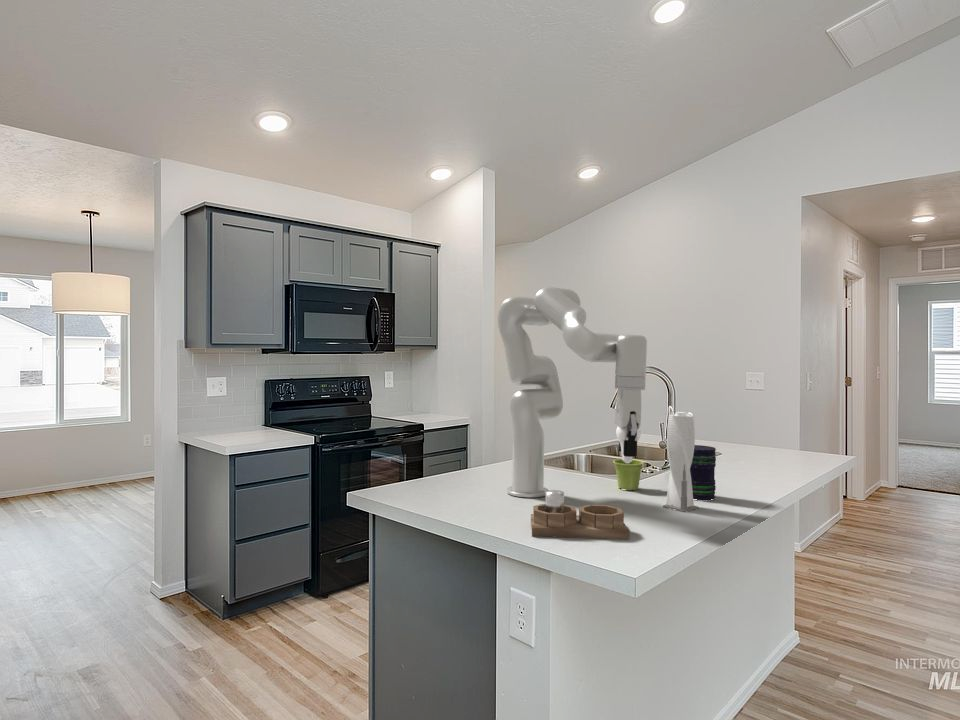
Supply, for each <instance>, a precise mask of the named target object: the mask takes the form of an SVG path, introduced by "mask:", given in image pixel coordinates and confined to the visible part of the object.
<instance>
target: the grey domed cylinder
mask: <svg viewBox="0 0 960 720" xmlns="http://www.w3.org/2000/svg"><path fill="white" fill-rule="evenodd" d="M544 504H545V512H547V513H564V505H565V492H564V491H562V490H560V489H559V490H558V489H548V491H546V496H545V503H544Z"/></svg>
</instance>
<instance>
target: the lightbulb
mask: <svg viewBox="0 0 960 720" xmlns="http://www.w3.org/2000/svg"><path fill="white" fill-rule="evenodd" d="M637 426H638V425H637ZM627 428H631V426H627ZM637 428H638V427H637ZM628 432H629V431H628ZM615 433H616V434H615V435H616V437H617V440H618V443H619V442H620V445H621V452H620V453H621V455H622V456H621V457H622V458H621V459H622V460H623V461H624V462H625V463H627V464H628V463H630V462H632V460H634V459H633V458H634V457H627V456H624V455H623V452H624V440H625V427H623V429H621V428H620V427H618V426H617V427H616V430H615ZM641 435H642V433H641V427H640V428H639V429H637V443H638V442H639V439H640V438H641Z"/></svg>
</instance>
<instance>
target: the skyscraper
mask: <svg viewBox="0 0 960 720" xmlns="http://www.w3.org/2000/svg"><path fill="white" fill-rule="evenodd" d="M671 412H672V414H671ZM694 419H695V417H694V414H693V413H692V412H691V411H689V412H685V411H676V412H675V410H674V409H673V406H671V405H669V406H668V419H667V428H666V450H667V458H668V464H669V469H670V471H669V477H668V485H667V486H668V487H667V492H666V493H667V494H666V504H663V505H662V508H664V507H667V508H666V509H669V508H671V509H670V510H673V509H676V510H675V511H678V510H680V511H679V512H682V511H685V512H684V513H687V512H686V511H688V512H690V511H689V510H691V511H694V510H693V509H695V510H697V509H696V508H698V509H699V508H700V506H699V505H698V506H697V505H694V500H693V491H692V481H691V474H690V467H691V463H692V459H693V453H694V445H696V444H695V443H696V442H695V441H696V440H695V439H696V437H695V436H696V433H695V432H696V431H695V420H694Z"/></svg>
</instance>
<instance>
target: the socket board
mask: <svg viewBox="0 0 960 720" xmlns="http://www.w3.org/2000/svg"><path fill="white" fill-rule="evenodd" d="M532 512H533V513H530V529H531V530H532V531H531V537H536V536H553V537H552V538H570V537H588V538H587V539H604V538H607V539H608V540H610V539H611V540H630V530H629V528H628V527H627V525H626V524H625V522H624V519H625V514H624V513H625V512H624V511H623V509H622V508H621V507H616V506H612V505H608V504H607V505H606V504H587V505H583V506H579V507H578V513H577V509H576V507H575V506H572V505H567V504H564V513H547V512H545V503H540V504H537V505H534V506H533V511H532ZM577 514H578V515H577ZM554 536H556V537H554Z"/></svg>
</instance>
